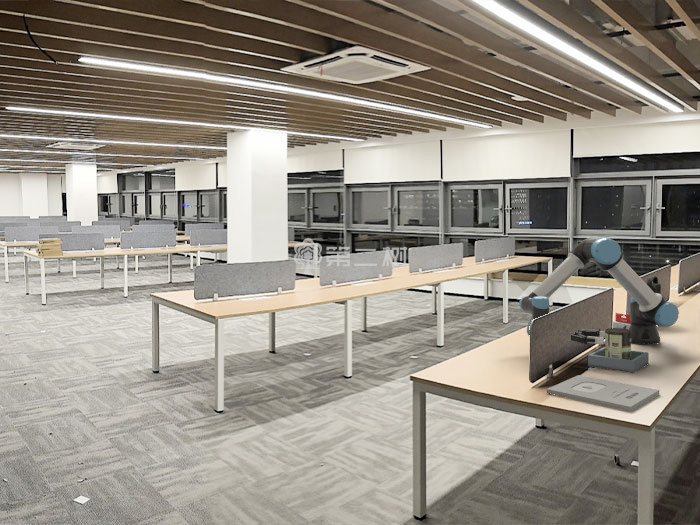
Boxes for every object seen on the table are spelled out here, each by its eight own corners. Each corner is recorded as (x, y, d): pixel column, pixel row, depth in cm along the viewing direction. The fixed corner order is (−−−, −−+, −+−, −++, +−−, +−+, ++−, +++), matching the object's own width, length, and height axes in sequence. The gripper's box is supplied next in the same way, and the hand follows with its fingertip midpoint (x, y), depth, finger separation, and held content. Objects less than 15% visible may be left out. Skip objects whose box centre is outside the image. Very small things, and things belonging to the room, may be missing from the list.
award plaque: (630, 413, 192) (630, 406, 192) (546, 394, 214) (546, 388, 214) (659, 395, 209) (659, 389, 209) (578, 380, 231) (578, 375, 231)
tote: (604, 357, 262) (604, 346, 262) (648, 364, 249) (648, 352, 249) (588, 366, 249) (588, 354, 248) (633, 373, 236) (633, 361, 236)
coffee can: (627, 360, 253) (627, 328, 252) (634, 366, 243) (634, 332, 242) (602, 359, 255) (602, 327, 254) (607, 365, 245) (607, 332, 244)
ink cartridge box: (629, 334, 309) (629, 316, 308) (612, 330, 319) (612, 313, 318) (632, 333, 310) (633, 315, 309) (615, 330, 320) (615, 312, 319)
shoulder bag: (655, 328, 320) (655, 278, 318) (637, 327, 326) (637, 277, 323) (663, 322, 338) (663, 274, 336) (645, 320, 343) (646, 273, 341)
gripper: (572, 336, 274) (619, 341, 260) (549, 346, 256) (598, 352, 242) (572, 320, 274) (619, 325, 259) (549, 329, 256) (598, 334, 241)
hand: (609, 338), depth 250 cm, fingers open, 13 cm apart
